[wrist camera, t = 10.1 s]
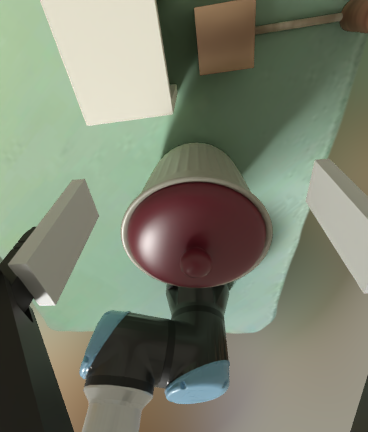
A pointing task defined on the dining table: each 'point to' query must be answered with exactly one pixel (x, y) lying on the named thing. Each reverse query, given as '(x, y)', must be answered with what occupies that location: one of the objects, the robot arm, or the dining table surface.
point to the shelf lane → (113, 57)
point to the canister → (196, 221)
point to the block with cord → (254, 31)
